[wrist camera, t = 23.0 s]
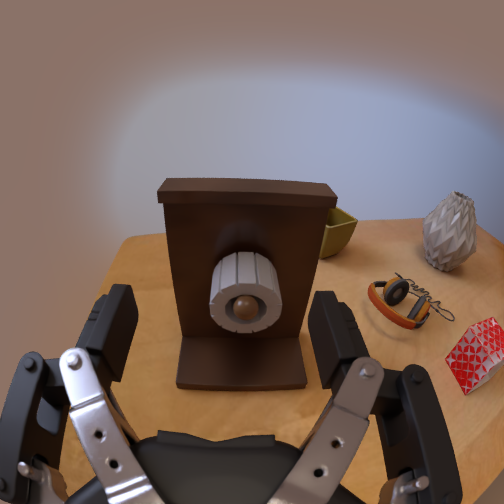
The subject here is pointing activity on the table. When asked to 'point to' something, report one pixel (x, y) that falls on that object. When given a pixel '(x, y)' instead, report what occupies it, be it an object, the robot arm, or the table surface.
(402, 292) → the headphones
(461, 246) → the vase
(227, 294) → the grey faceted tube
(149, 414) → the table surface
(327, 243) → the flower pot
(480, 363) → the red patterned cube
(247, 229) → the rack
